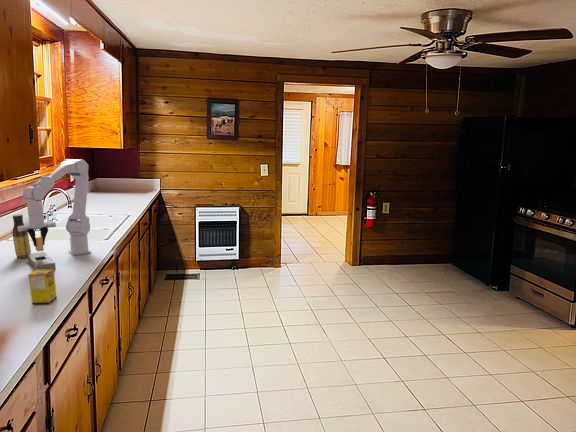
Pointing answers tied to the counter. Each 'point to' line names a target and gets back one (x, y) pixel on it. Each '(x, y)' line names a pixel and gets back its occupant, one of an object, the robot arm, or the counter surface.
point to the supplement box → (42, 286)
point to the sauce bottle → (20, 238)
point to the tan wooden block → (39, 243)
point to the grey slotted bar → (41, 261)
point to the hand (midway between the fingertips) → (39, 245)
